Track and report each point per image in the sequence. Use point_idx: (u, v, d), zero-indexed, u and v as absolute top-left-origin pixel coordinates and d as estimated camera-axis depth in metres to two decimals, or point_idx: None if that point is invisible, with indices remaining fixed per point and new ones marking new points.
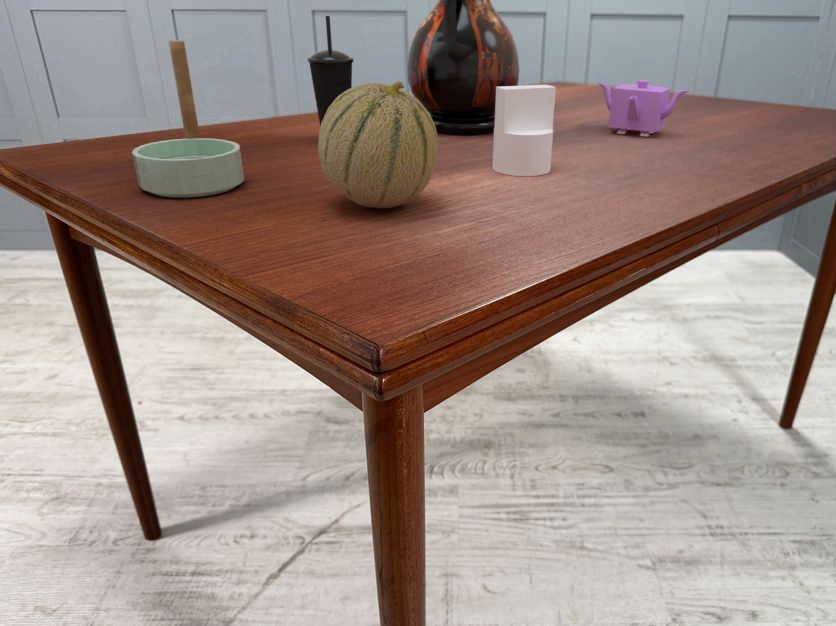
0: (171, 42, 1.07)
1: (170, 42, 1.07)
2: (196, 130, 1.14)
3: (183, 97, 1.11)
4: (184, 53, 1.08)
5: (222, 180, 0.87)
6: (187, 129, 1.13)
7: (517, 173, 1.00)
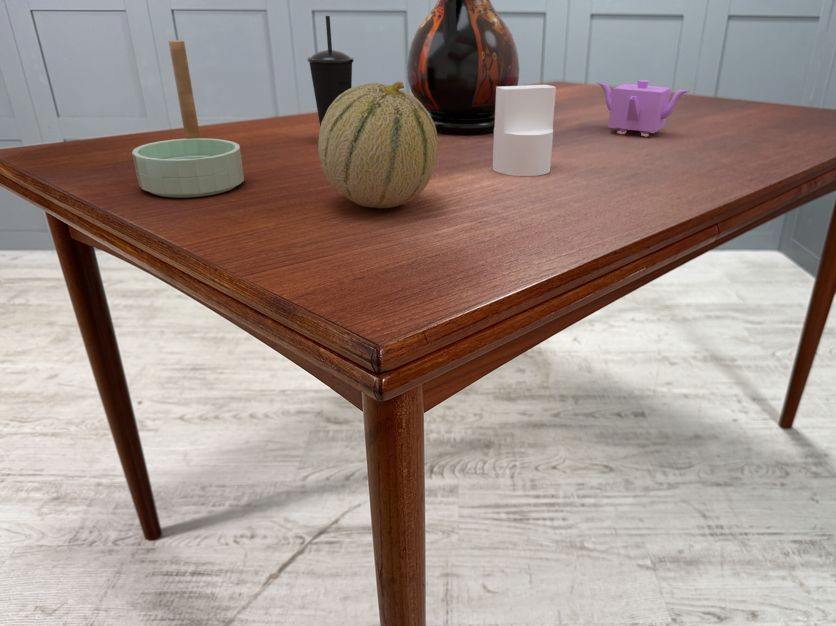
0: (171, 42, 1.07)
1: (170, 42, 1.07)
2: (196, 130, 1.14)
3: (183, 97, 1.11)
4: (184, 53, 1.08)
5: (222, 180, 0.87)
6: (187, 129, 1.13)
7: (517, 173, 1.00)
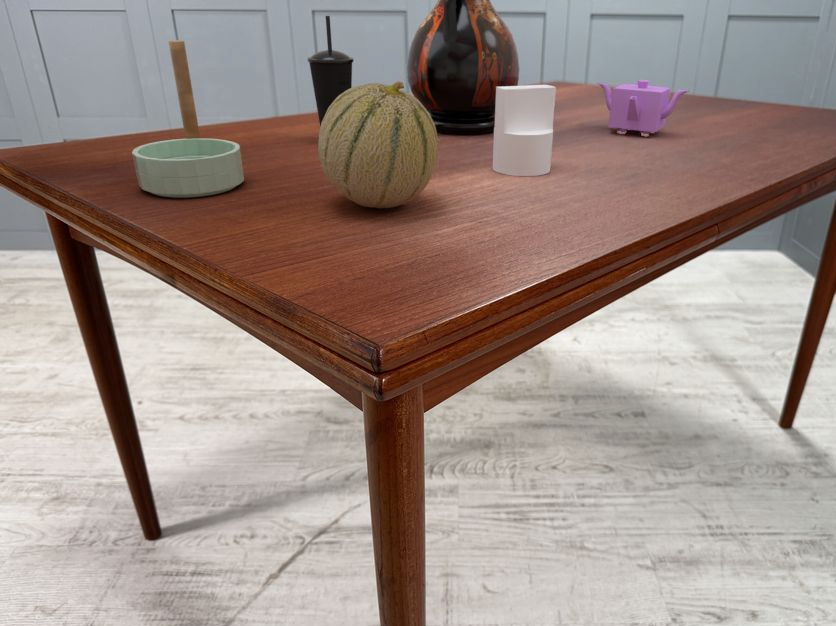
0: (171, 42, 1.07)
1: (170, 42, 1.07)
2: (196, 130, 1.14)
3: (183, 97, 1.11)
4: (184, 53, 1.08)
5: (222, 180, 0.87)
6: (187, 129, 1.13)
7: (517, 173, 1.00)
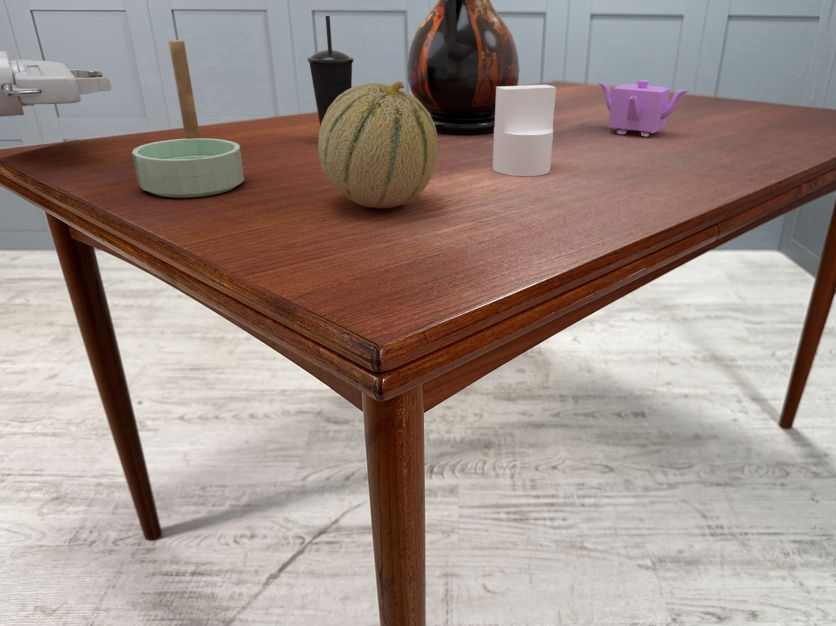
0: (171, 42, 1.07)
1: (170, 42, 1.07)
2: (196, 130, 1.14)
3: (183, 97, 1.11)
4: (184, 53, 1.08)
5: (222, 180, 0.87)
6: (187, 129, 1.13)
7: (517, 173, 1.00)
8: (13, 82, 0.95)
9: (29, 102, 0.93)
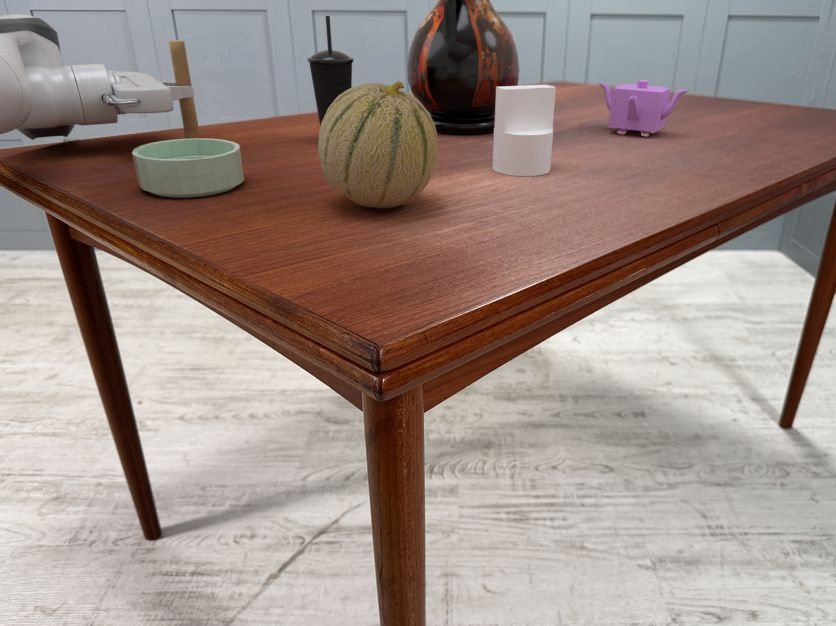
0: (171, 42, 1.07)
1: (170, 42, 1.07)
2: (196, 130, 1.14)
3: None
4: (184, 53, 1.08)
5: (222, 180, 0.87)
6: (187, 129, 1.13)
7: (517, 173, 1.00)
8: (111, 93, 1.02)
9: (128, 111, 1.00)
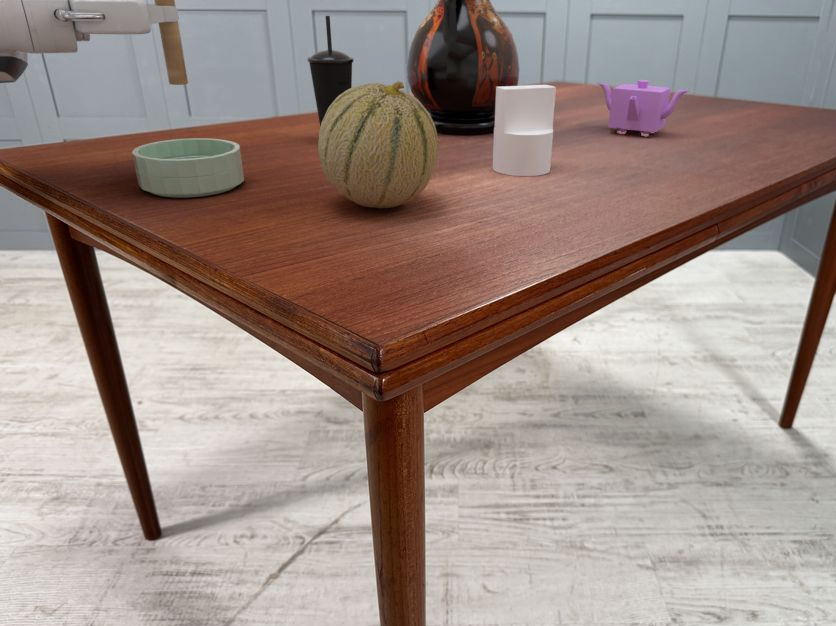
0: None
1: None
2: (182, 67, 0.89)
3: None
4: None
5: (222, 180, 0.87)
6: (170, 65, 0.88)
7: (517, 173, 1.00)
8: (68, 8, 0.77)
9: (89, 31, 0.75)
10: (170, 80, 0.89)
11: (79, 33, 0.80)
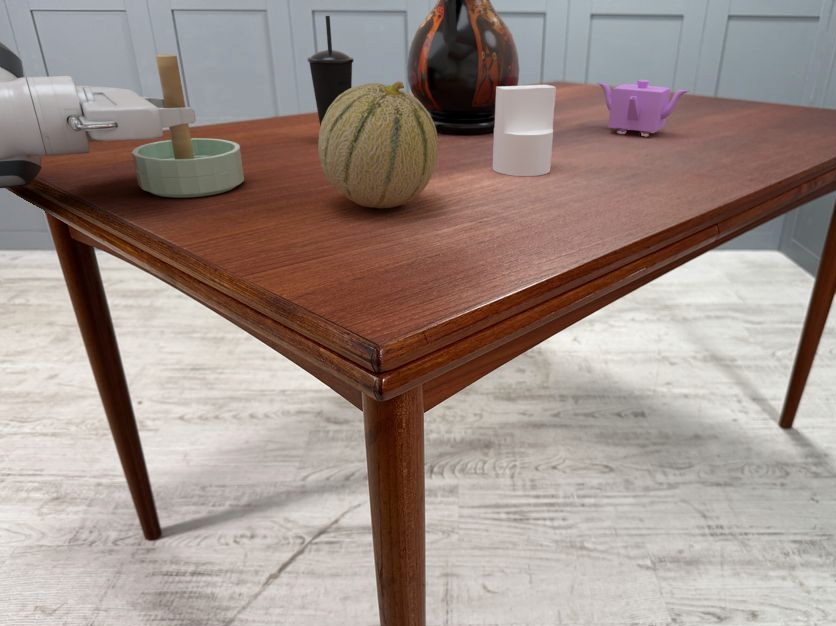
0: (159, 57, 0.81)
1: (158, 57, 0.81)
2: None
3: (176, 128, 0.85)
4: (177, 71, 0.82)
5: (222, 180, 0.87)
6: None
7: (517, 173, 1.00)
8: (80, 114, 0.77)
9: (102, 138, 0.75)
10: None
11: None
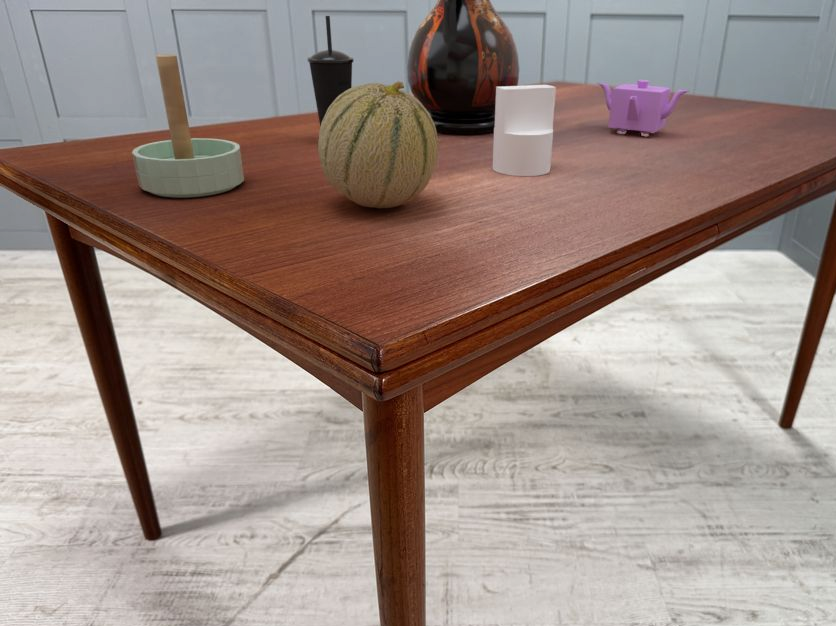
0: (159, 57, 0.81)
1: (158, 57, 0.81)
2: None
3: (176, 128, 0.85)
4: (177, 71, 0.82)
5: (222, 180, 0.87)
6: None
7: (517, 173, 1.00)
8: None
9: None
10: None
11: None
